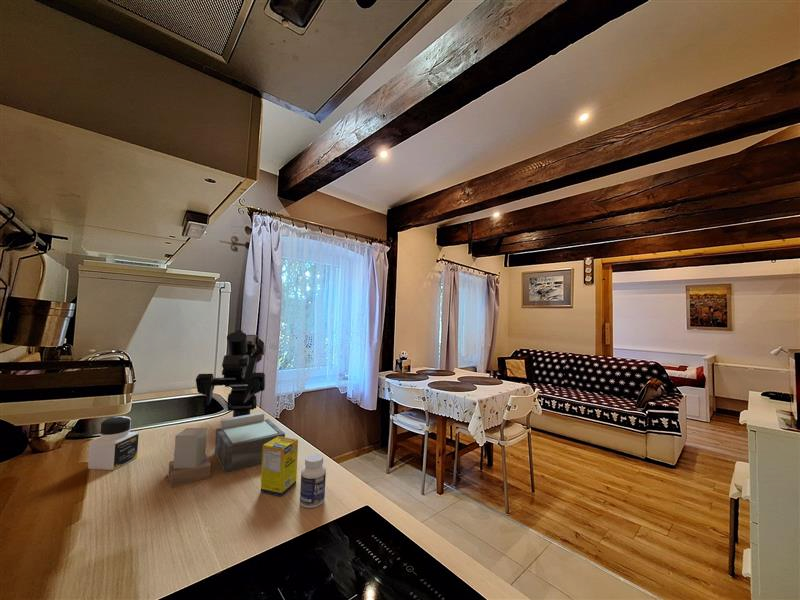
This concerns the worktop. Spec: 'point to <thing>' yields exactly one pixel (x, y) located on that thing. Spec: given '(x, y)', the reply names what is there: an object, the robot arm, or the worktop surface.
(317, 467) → the pill bottle
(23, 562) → the worktop surface
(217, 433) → the frame
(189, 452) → the light grey block
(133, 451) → the medicine bottle
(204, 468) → the walnut plinth
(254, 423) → the trapdoor
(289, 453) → the supplement box
